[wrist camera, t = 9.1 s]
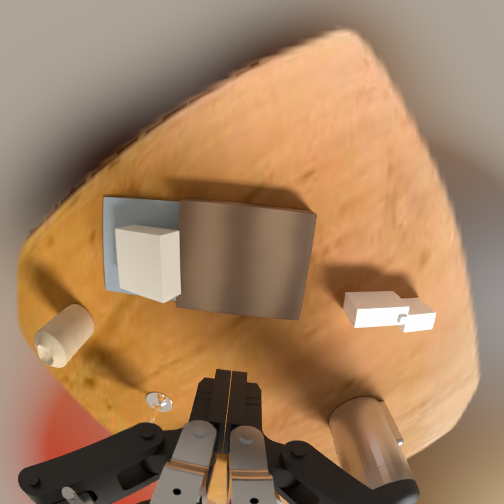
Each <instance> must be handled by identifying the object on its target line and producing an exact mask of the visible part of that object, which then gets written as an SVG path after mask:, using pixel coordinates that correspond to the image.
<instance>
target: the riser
mask: <svg viewBox="0 0 504 504" xmlns="http://www.w3.org/2000/svg"><path fill="white" fill-rule="evenodd" d="M316 218H317V214H315V213H314V212H312V211H307V210H300V209H292V208H284V207H275V206H267V205H258V204H249V203H239V202H229V201H218V200H208V199H196V198H184V199H182V200H180V207H179V223H178V231H179V239H180V278H181V294H180V295H178V296H176V307H178V308H185V309H193V310H201V311H209V312H217V313H225V314H235V315H244V316H254V317H265V318H276V319H288V320H299V317H300V312H301V307H302V302H303V296H304V291H305V286H306V280H307V274H308V268H309V263H310V257H311V250H312V244H313V238H314V231H315V225H316Z"/></svg>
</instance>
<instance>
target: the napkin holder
mask: <svg viewBox="0 0 504 504" xmlns="http://www.w3.org/2000/svg"><path fill="white" fill-rule="evenodd" d="M343 310H344V312H345V313H346V315H347V317H348V318H349V320H350V322H351V323H352V325H353V327H354V328H359V327H375V326H389V325H398V327H399V328H400V329H401V330H402V331H403V332H411V331H420V330H428V329H432V327H433V323H434V320H435V316H436V312H435V311H434V310H433V309H432V308H431V307H429V306H428V305H427V304H426V303H425V302H424V301H422V300H421V299H420V298H402V299H401V298H400V297H399V296H398V295H397V294H396V293H395V292H394V291H377V292H345V299H344V306H343Z"/></svg>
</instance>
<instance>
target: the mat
mask: <svg viewBox="0 0 504 504" xmlns="http://www.w3.org/2000/svg"><path fill="white" fill-rule="evenodd" d="M179 207H180V202H178V201H165V200H151V199H135V198H118V197H104V204H103V248H104V272H105V287H106V290H109V291H115V292H121V293H127V294H133V295H138V294H135V293H132V292H130V291H127V290H124V289H122V288H120V283H119V274H118V263H117V251H116V236H115V229H116V228H120V227H125V226H129V225H134V224H135V225H142V226H149V227H157V228H164V229H171V230H178V223H179ZM139 296H141V295H139ZM171 300H173V301H176V297H174V298H172V299H171Z"/></svg>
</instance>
